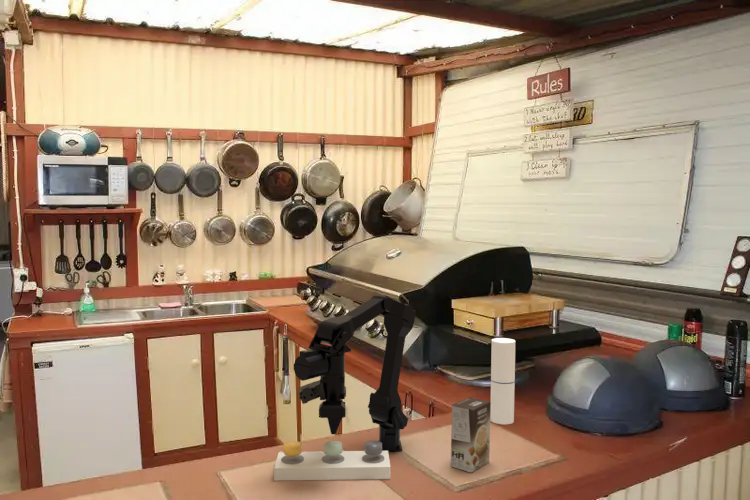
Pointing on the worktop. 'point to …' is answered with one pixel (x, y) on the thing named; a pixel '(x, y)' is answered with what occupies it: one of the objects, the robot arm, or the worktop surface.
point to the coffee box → (470, 434)
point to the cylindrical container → (502, 380)
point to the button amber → (292, 448)
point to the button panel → (332, 466)
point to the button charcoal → (373, 447)
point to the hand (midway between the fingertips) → (333, 433)
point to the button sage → (333, 448)
